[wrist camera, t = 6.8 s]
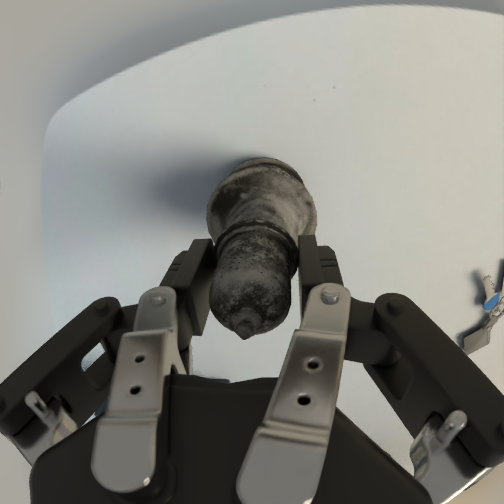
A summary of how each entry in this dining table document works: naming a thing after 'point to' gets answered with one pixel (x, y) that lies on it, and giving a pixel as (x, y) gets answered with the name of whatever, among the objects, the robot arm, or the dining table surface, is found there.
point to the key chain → (483, 334)
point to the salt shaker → (257, 244)
